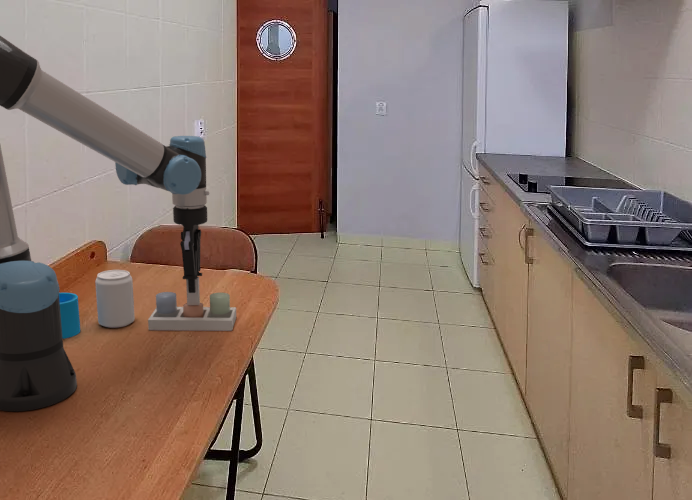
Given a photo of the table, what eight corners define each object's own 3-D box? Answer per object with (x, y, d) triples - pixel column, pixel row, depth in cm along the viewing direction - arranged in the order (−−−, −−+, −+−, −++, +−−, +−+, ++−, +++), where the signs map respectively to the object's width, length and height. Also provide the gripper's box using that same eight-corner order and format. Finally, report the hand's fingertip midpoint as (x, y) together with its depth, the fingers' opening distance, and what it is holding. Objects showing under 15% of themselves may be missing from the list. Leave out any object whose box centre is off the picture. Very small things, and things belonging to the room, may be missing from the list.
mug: (72, 339, 144) (70, 304, 142) (34, 339, 144) (31, 304, 142) (91, 320, 156) (88, 287, 154) (56, 319, 155) (53, 287, 153)
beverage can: (90, 324, 153) (87, 275, 150) (117, 314, 160) (114, 267, 157) (115, 331, 149) (112, 281, 146) (142, 321, 156) (139, 272, 153)
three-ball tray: (232, 330, 152) (231, 320, 151) (148, 330, 151) (148, 319, 150) (236, 317, 160) (236, 307, 160) (157, 316, 159) (157, 306, 159)
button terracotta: (201, 324, 153) (201, 308, 152) (182, 323, 153) (181, 308, 152) (205, 317, 158) (204, 302, 157) (185, 316, 157) (185, 301, 156)
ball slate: (174, 313, 152) (174, 298, 151) (154, 313, 152) (153, 298, 151) (178, 307, 157) (178, 292, 156) (159, 306, 156) (158, 291, 155)
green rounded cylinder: (228, 314, 153) (228, 298, 152) (208, 314, 153) (208, 298, 152) (230, 307, 157) (230, 292, 156) (211, 307, 157) (211, 292, 156)
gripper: (202, 211, 142) (205, 314, 148) (211, 200, 155) (213, 295, 161) (167, 211, 142) (171, 313, 148) (178, 199, 154) (182, 295, 160)
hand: (193, 304), depth 154 cm, fingers closed
